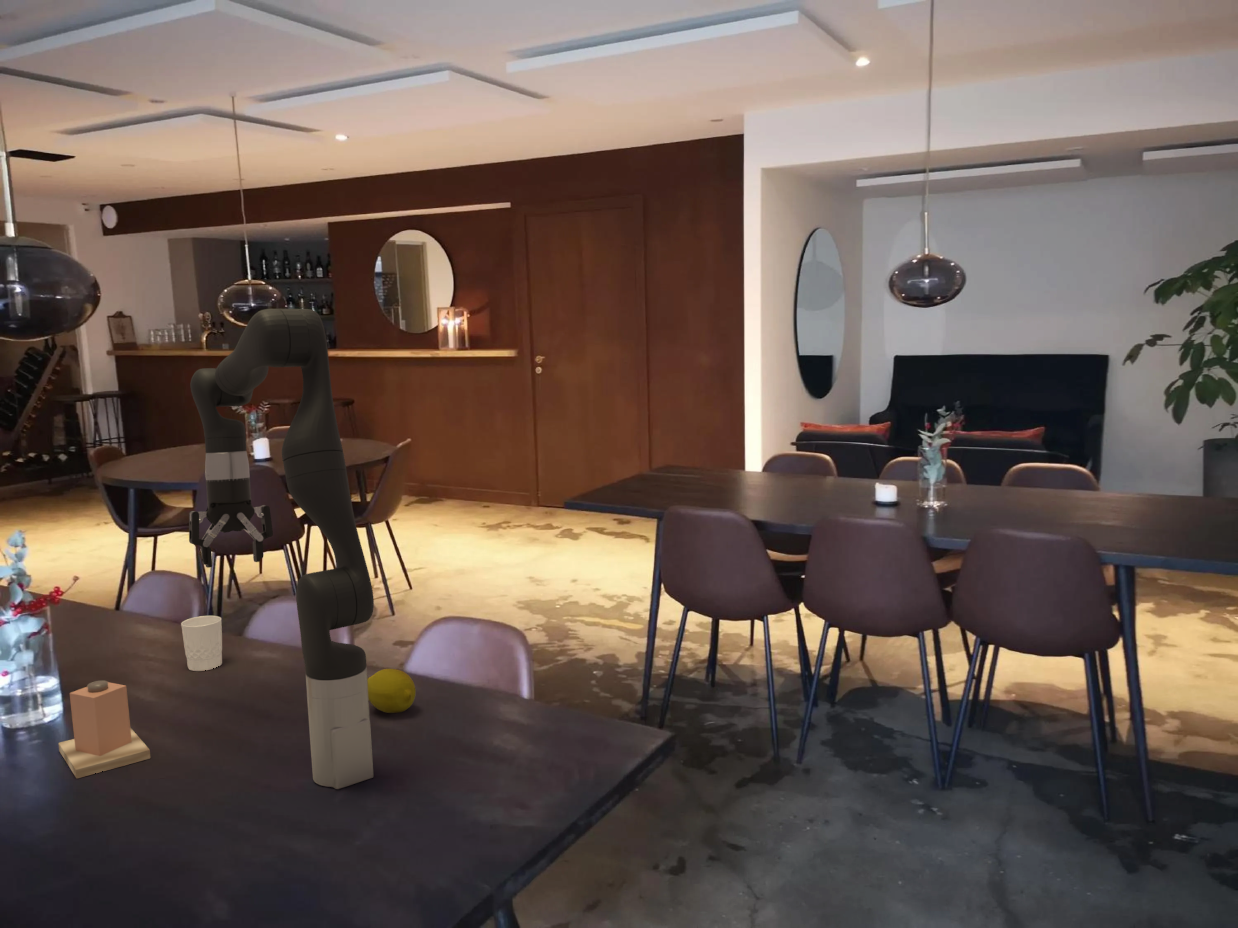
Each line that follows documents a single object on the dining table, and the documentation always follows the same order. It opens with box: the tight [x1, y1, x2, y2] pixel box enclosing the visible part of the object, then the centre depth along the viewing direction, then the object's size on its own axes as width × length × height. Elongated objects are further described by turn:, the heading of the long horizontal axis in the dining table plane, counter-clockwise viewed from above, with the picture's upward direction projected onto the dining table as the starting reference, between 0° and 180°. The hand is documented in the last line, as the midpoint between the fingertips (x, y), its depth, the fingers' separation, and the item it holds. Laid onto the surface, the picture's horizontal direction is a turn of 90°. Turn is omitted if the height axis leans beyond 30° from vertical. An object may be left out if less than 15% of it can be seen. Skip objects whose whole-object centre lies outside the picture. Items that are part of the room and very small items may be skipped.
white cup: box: [180, 615, 223, 672], centre depth 207 cm, size 8×8×10 cm
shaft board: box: [58, 727, 151, 779], centre depth 164 cm, size 14×11×8 cm
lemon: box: [367, 668, 416, 714], centre depth 180 cm, size 11×8×8 cm
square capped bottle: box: [69, 679, 132, 756], centre depth 163 cm, size 6×6×11 cm
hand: (233, 564), depth 179 cm, fingers open, 8 cm apart
